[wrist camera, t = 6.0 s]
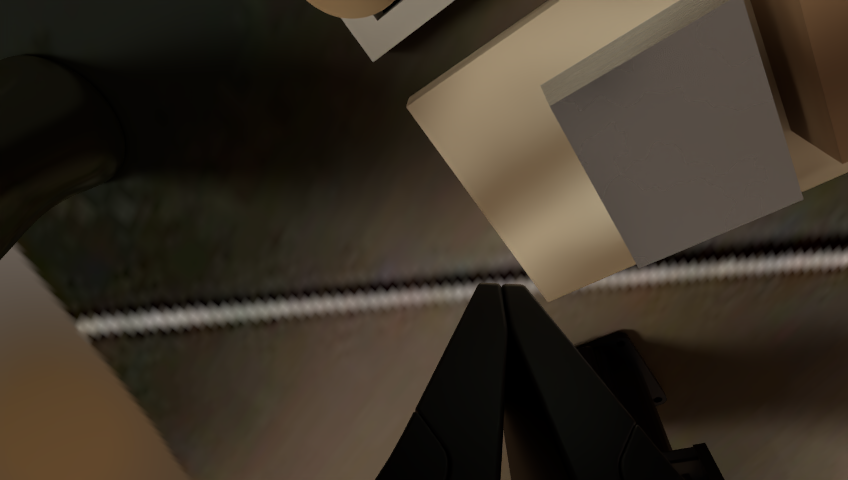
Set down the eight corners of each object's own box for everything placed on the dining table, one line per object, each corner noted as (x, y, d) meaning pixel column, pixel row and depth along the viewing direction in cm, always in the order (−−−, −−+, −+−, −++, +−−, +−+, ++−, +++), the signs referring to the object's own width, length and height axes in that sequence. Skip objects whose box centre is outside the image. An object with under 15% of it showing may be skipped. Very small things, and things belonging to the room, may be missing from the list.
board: (854, 147, 19) (938, 197, 16) (544, 287, 25) (557, 347, 21) (778, -161, 14) (877, -186, 11) (409, 97, 20) (396, 135, 16)
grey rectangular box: (768, 170, 19) (803, 199, 17) (622, 235, 21) (638, 268, 19) (706, -16, 16) (741, -7, 14) (540, 85, 18) (549, 106, 16)
